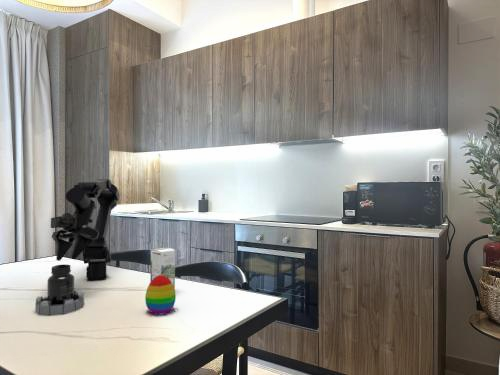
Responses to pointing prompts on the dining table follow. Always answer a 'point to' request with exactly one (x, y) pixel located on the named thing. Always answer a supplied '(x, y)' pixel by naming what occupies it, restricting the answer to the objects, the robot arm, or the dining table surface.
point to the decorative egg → (160, 295)
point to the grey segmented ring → (59, 305)
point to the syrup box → (163, 263)
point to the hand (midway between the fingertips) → (65, 259)
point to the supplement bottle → (60, 284)
